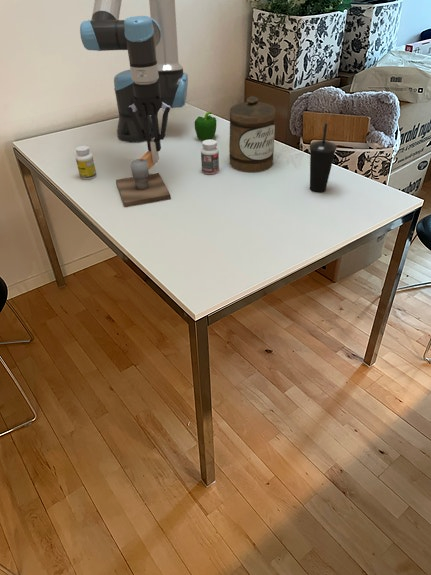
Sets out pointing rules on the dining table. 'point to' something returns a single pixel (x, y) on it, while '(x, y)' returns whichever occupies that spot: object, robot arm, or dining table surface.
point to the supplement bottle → (85, 163)
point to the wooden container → (251, 135)
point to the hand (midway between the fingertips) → (156, 160)
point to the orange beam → (142, 165)
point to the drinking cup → (321, 163)
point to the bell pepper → (205, 127)
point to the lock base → (142, 190)
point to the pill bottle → (209, 157)
